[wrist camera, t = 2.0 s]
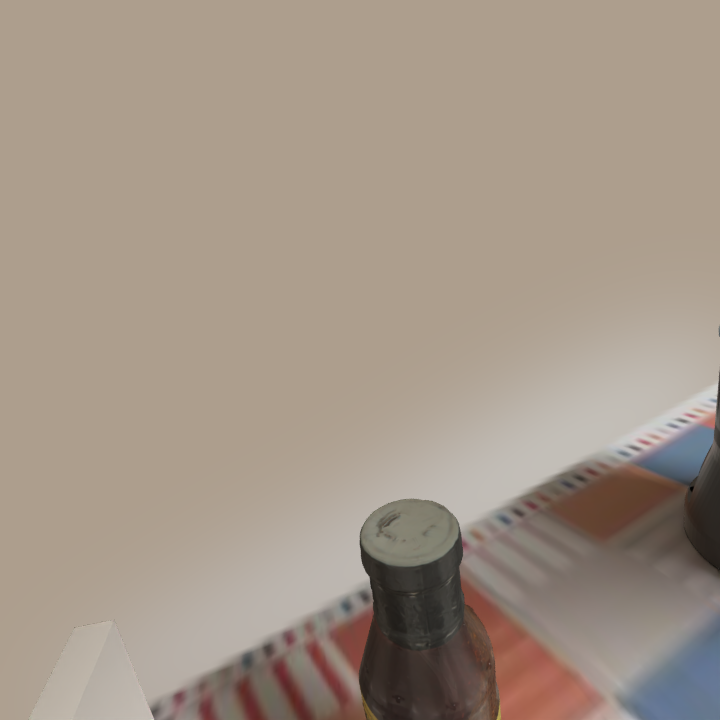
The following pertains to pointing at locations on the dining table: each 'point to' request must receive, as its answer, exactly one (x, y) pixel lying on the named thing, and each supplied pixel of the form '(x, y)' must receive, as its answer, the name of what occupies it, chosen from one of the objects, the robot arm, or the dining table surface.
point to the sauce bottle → (422, 621)
